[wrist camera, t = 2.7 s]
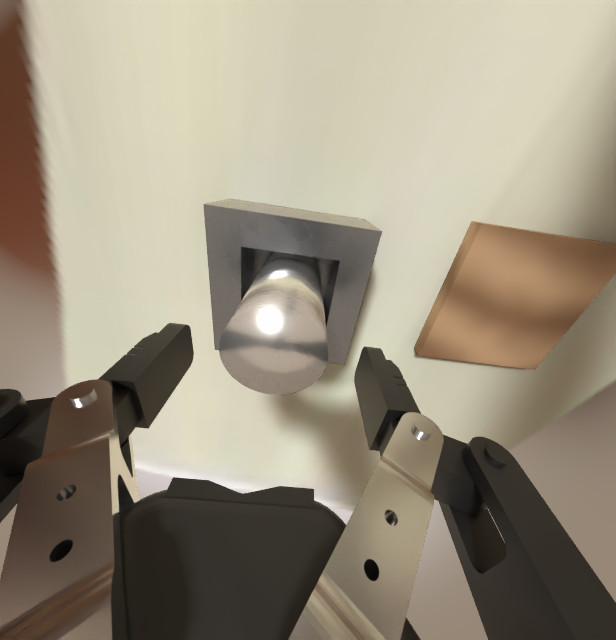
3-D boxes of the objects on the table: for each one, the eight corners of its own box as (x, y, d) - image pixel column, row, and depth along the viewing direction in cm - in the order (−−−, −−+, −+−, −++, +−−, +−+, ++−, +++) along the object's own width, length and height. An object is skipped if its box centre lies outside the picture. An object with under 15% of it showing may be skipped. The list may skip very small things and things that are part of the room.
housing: (230, 198, 17) (203, 204, 13) (364, 219, 18) (382, 231, 13) (233, 317, 22) (214, 349, 18) (338, 330, 23) (344, 364, 18)
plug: (262, 243, 18) (215, 300, 9) (325, 252, 18) (338, 316, 9) (260, 300, 20) (221, 388, 11) (315, 307, 20) (318, 399, 12)
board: (472, 221, 18) (482, 223, 17) (617, 244, 18) (636, 248, 17) (413, 348, 24) (418, 355, 23) (525, 361, 24) (534, 369, 23)
